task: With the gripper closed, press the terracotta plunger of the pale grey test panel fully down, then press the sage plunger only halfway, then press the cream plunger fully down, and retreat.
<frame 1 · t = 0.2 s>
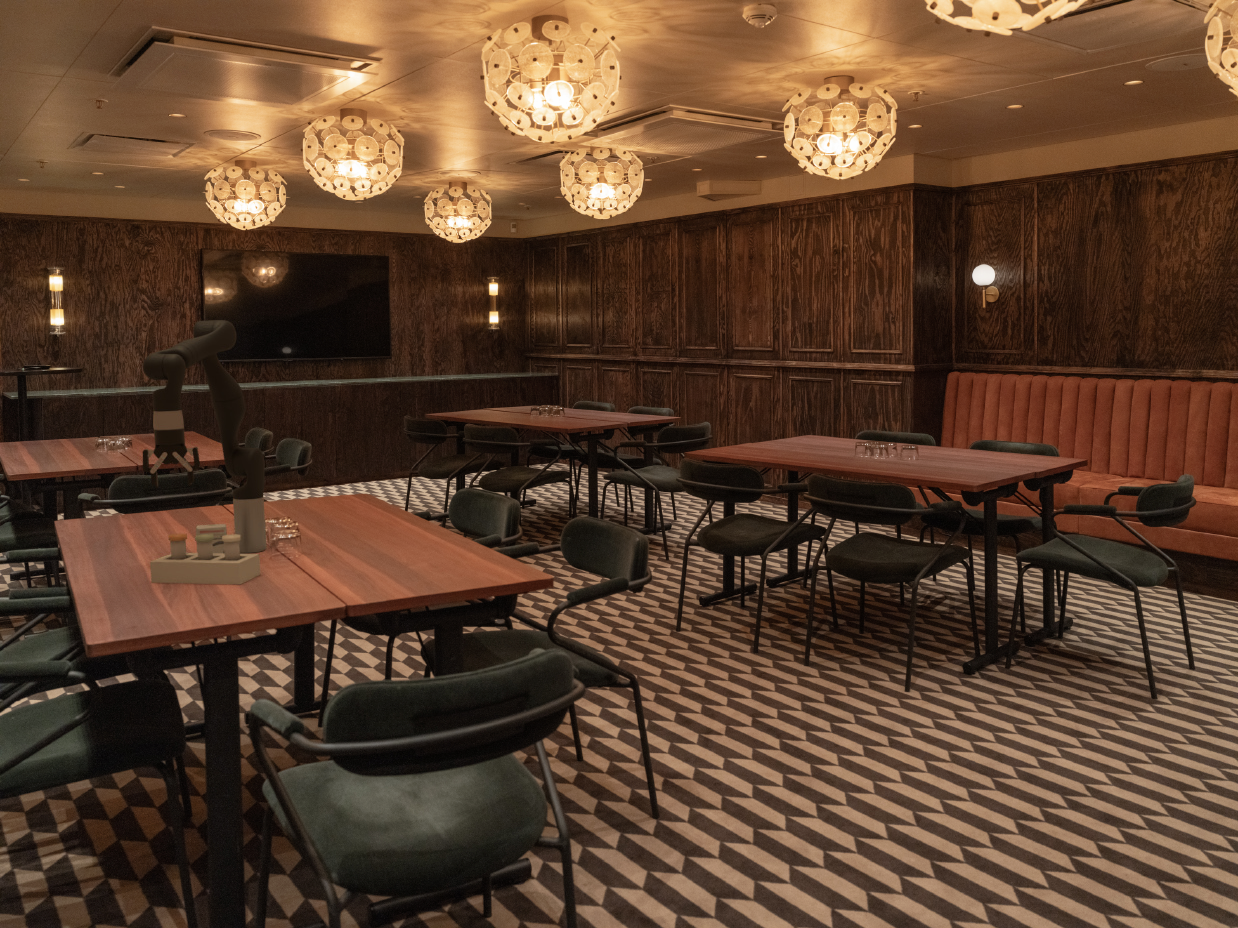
hand: (173, 485, 271), 27 cm above the table, fingers open, 8 cm apart
test panel: (206, 578, 279), on the table
ink box: (213, 564, 297), on the table
terracotta plunger: (178, 549, 278), point 8 cm above the table, slide at 0.0 cm
sage plunger: (205, 549, 278), point 8 cm above the table, slide at 0.0 cm
cream plunger: (231, 550, 277), point 8 cm above the table, slide at 0.0 cm
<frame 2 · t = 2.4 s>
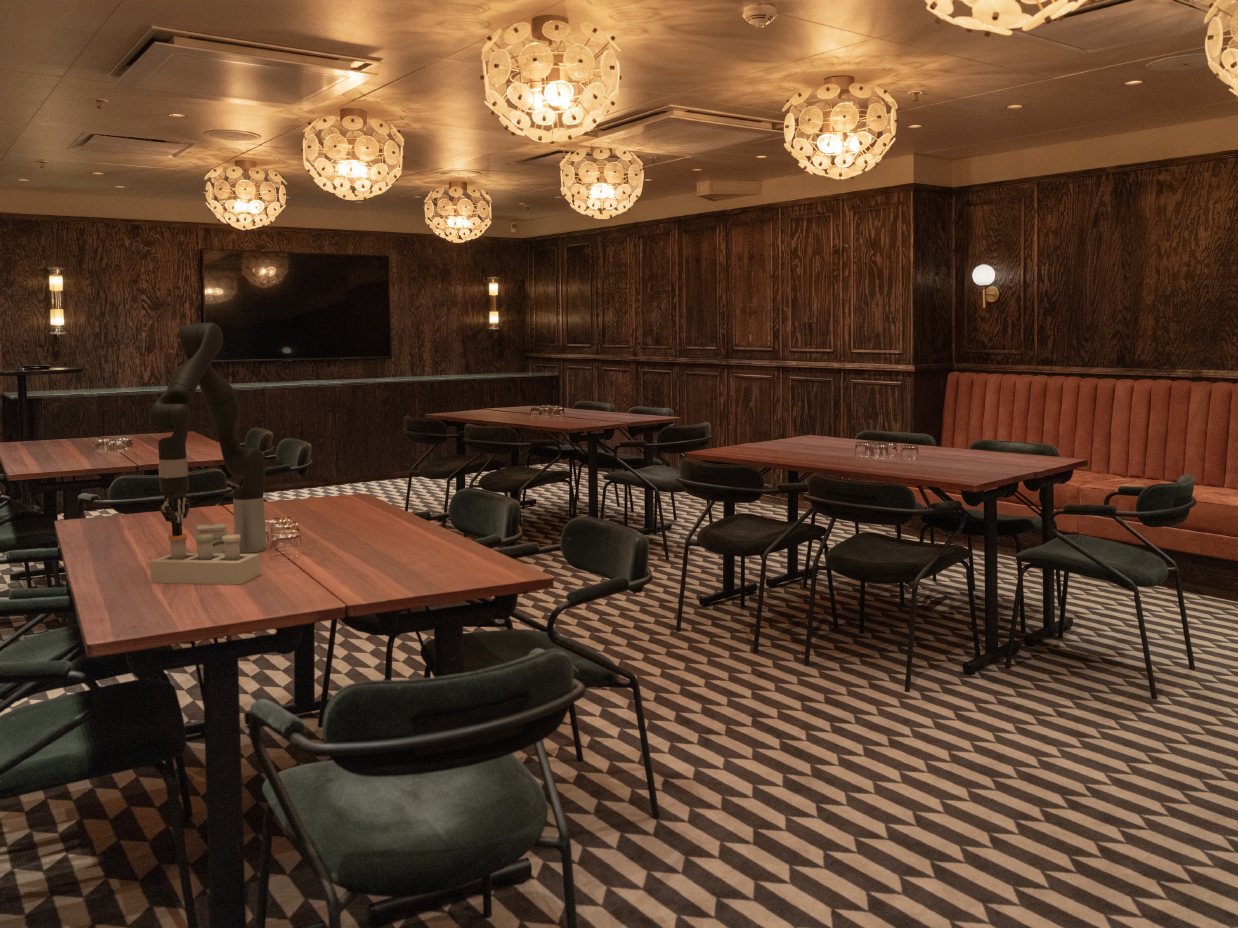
hand: (177, 535, 278), 12 cm above the table, fingers closed
terracotta plunger: (178, 549, 278), point 8 cm above the table, slide at 0.1 cm, touching gripper
everything else where it was.
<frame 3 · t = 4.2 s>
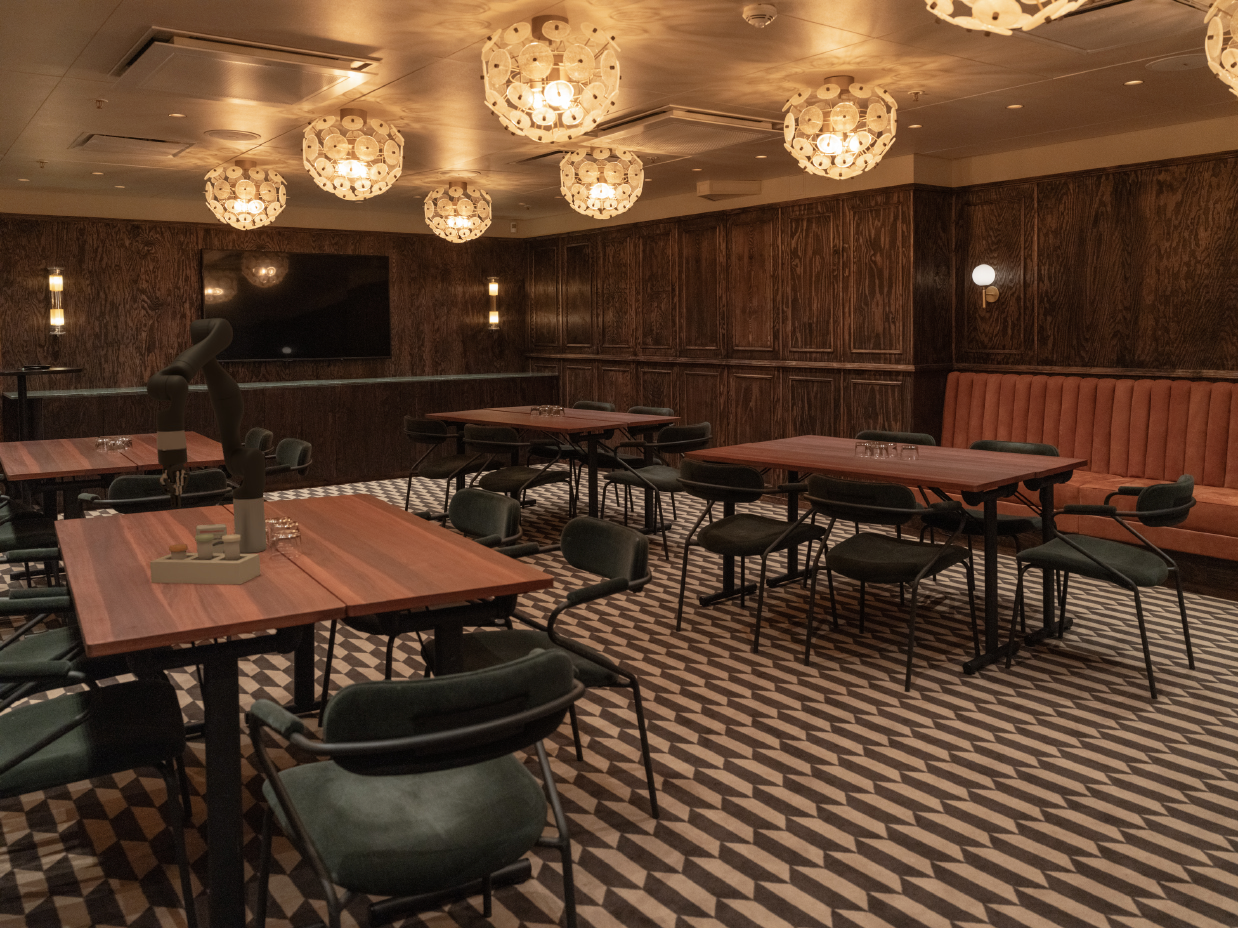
hand: (176, 507, 277), 20 cm above the table, fingers closed
terracotta plunger: (179, 559, 279), point 5 cm above the table, slide at 3.0 cm
everything else where it was.
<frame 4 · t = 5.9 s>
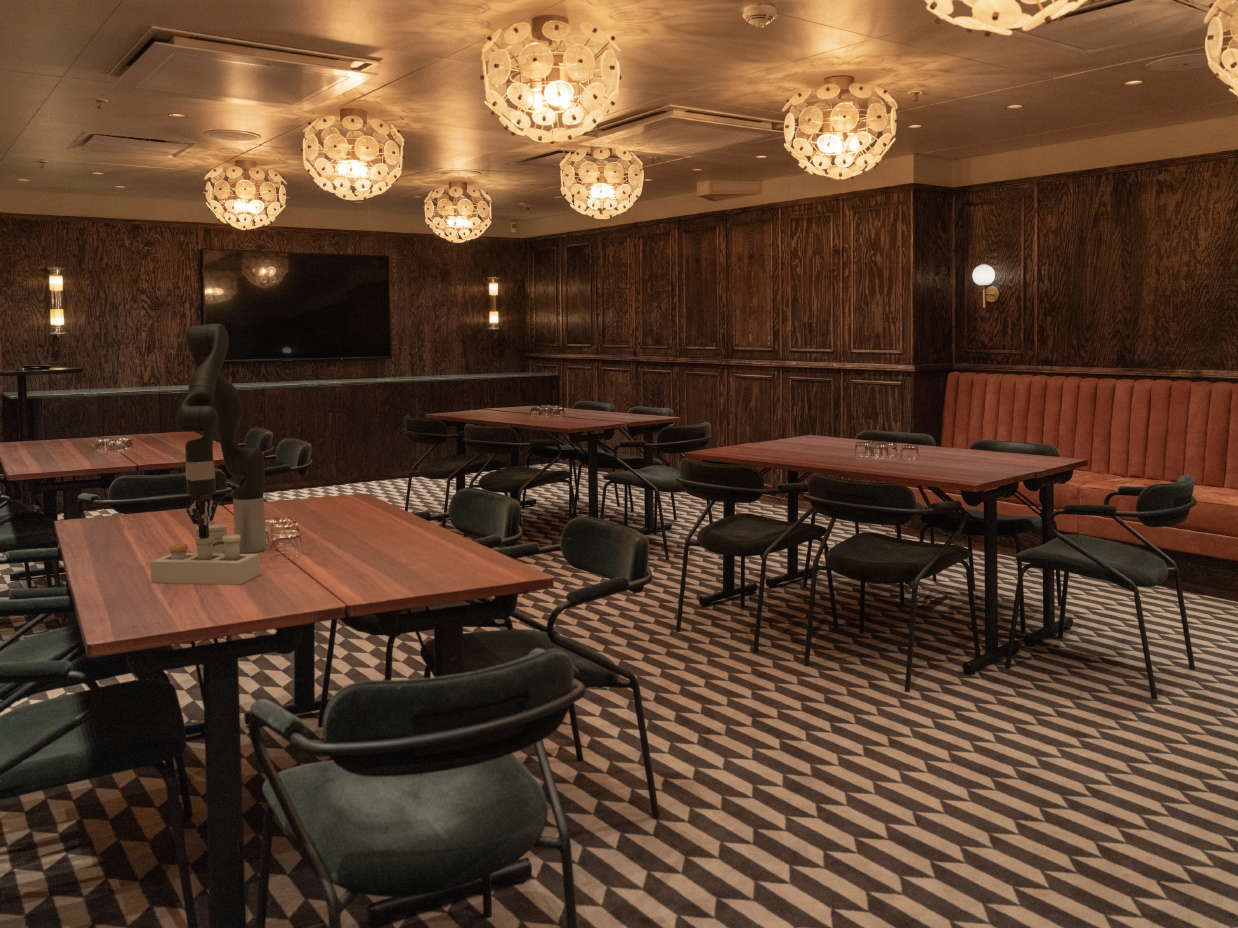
hand: (204, 537, 277), 12 cm above the table, fingers closed
sage plunger: (205, 552, 278), point 8 cm above the table, slide at 0.7 cm, touching gripper
everything else where it was.
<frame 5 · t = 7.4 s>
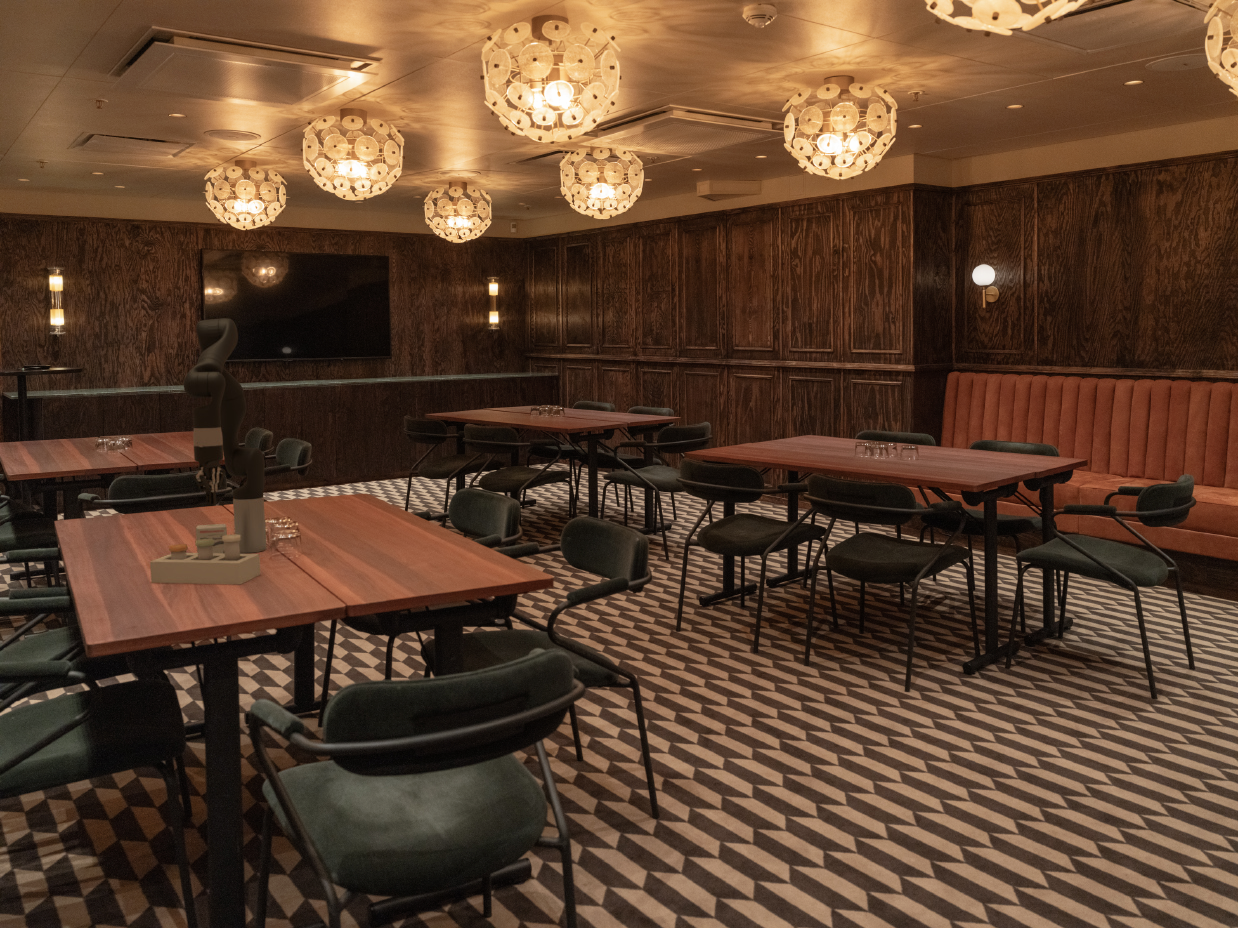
hand: (211, 505, 275), 21 cm above the table, fingers closed
sage plunger: (205, 554, 278), point 7 cm above the table, slide at 1.4 cm
everything else where it was.
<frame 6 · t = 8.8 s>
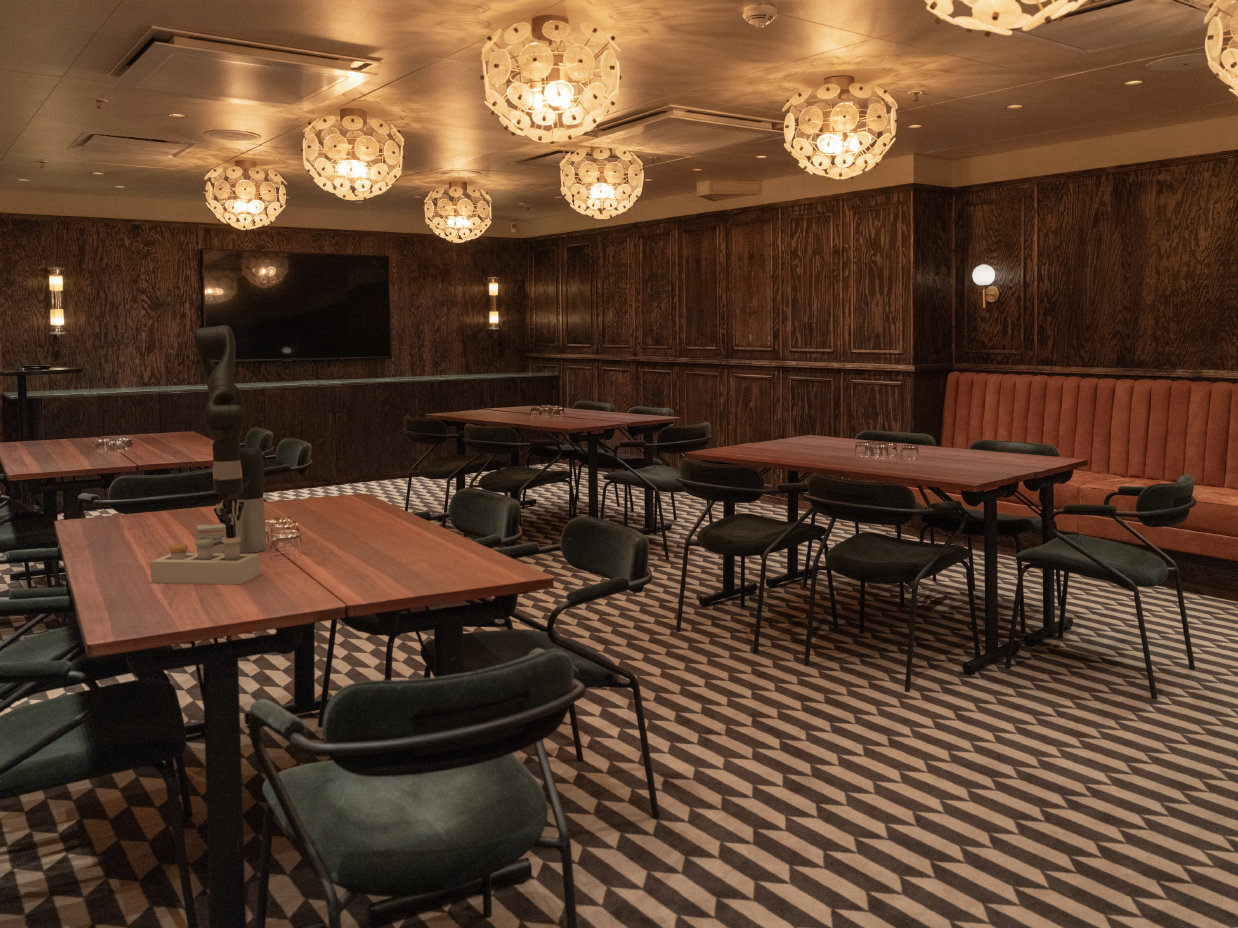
hand: (231, 537, 276), 12 cm above the table, fingers closed
cream plunger: (232, 551, 277), point 8 cm above the table, slide at 0.5 cm, touching gripper
everything else where it was.
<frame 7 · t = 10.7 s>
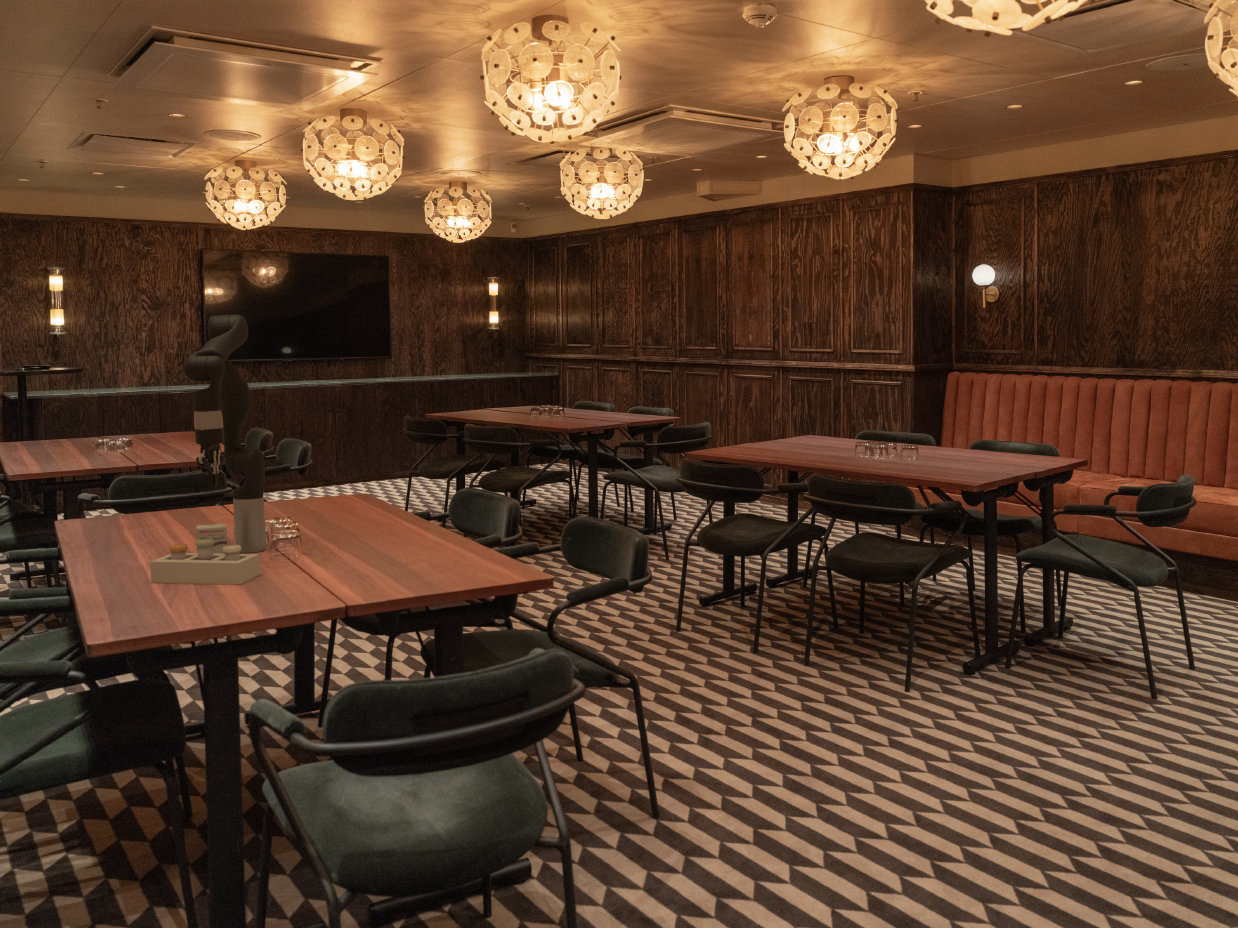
hand: (213, 486, 281), 26 cm above the table, fingers closed
cream plunger: (232, 560, 277), point 5 cm above the table, slide at 3.0 cm
everything else where it was.
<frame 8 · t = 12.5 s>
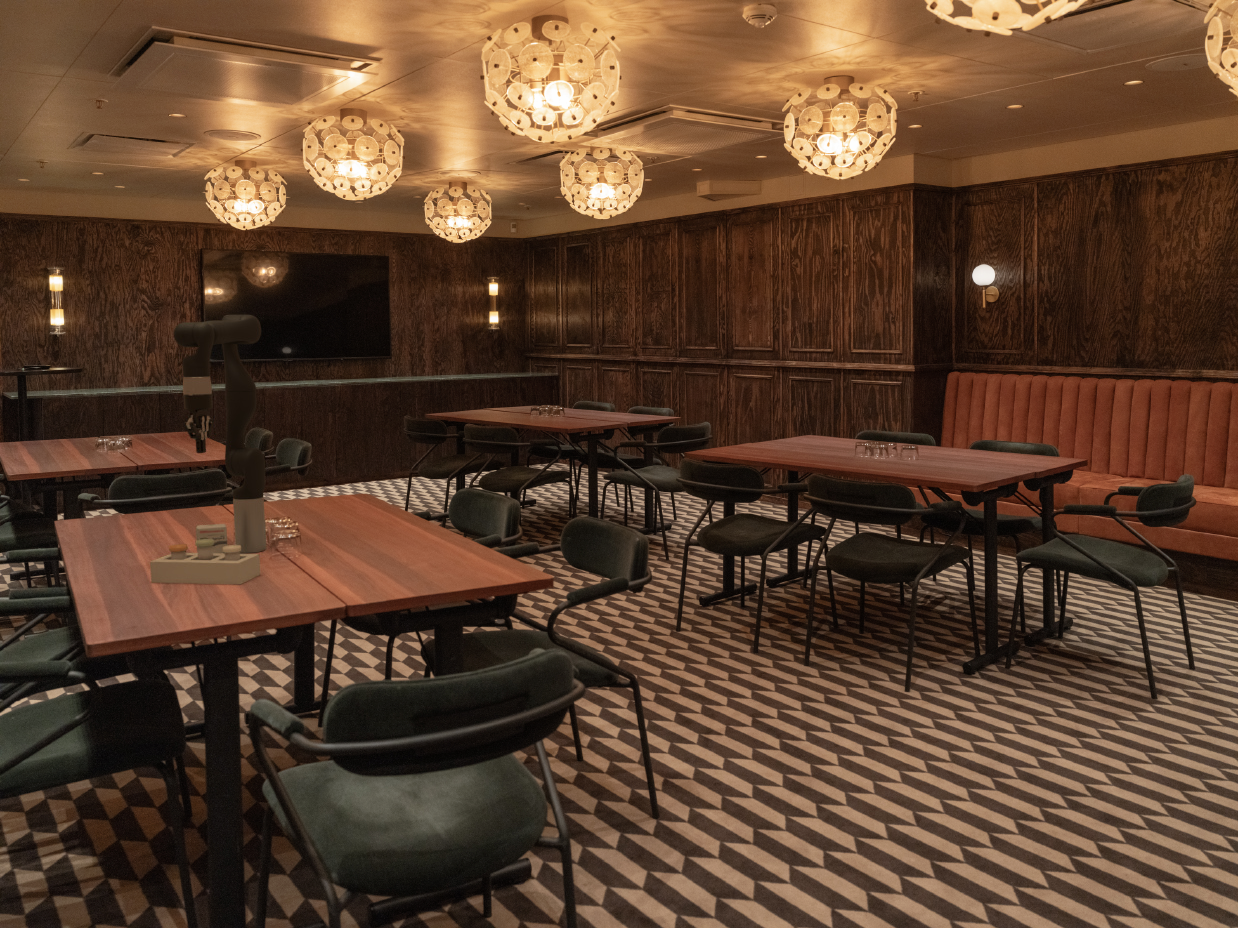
hand: (201, 452, 283), 35 cm above the table, fingers closed
nothing on the table moved.
at the end: terracotta plunger slide at 3.0 cm; sage plunger slide at 1.4 cm; cream plunger slide at 3.0 cm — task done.
